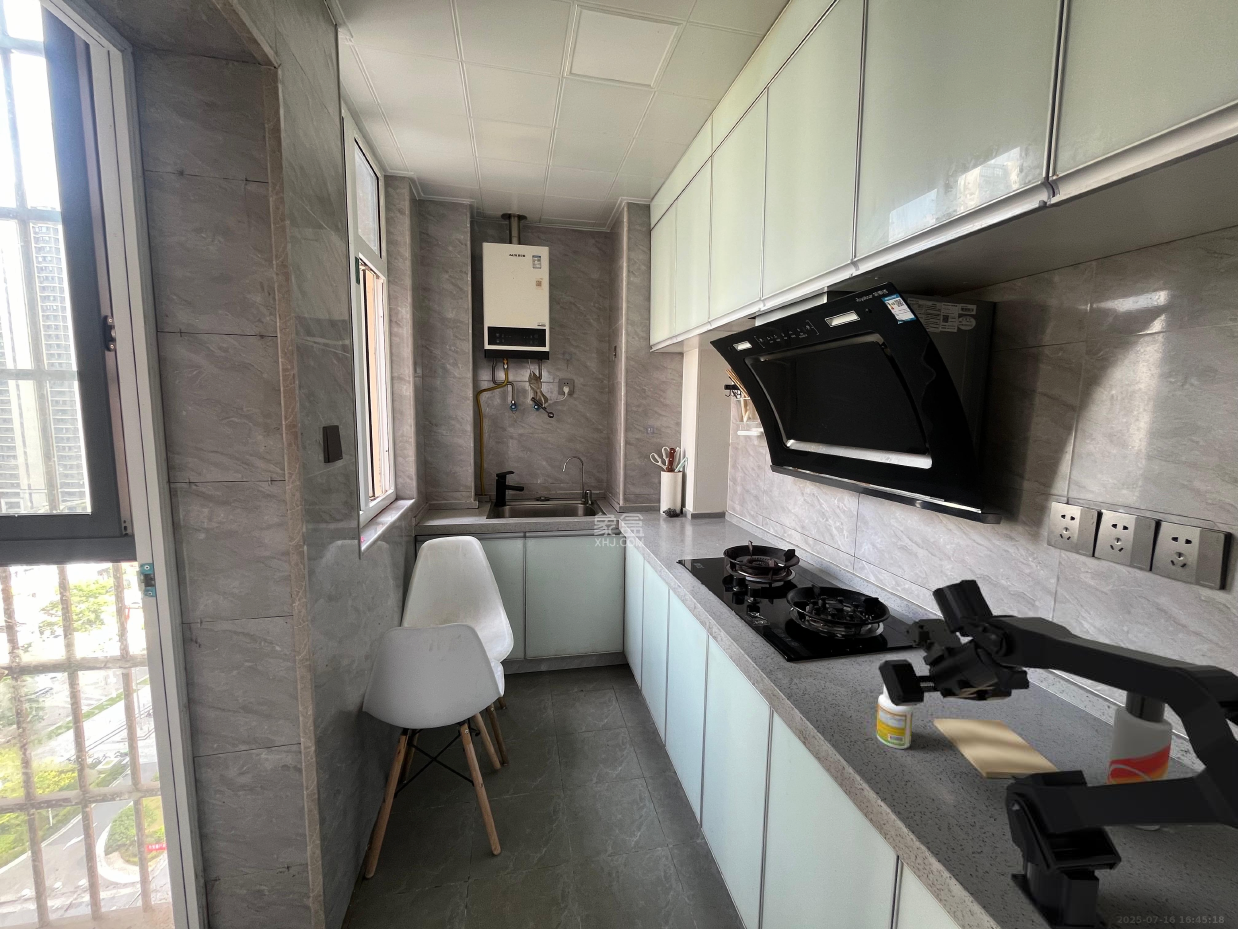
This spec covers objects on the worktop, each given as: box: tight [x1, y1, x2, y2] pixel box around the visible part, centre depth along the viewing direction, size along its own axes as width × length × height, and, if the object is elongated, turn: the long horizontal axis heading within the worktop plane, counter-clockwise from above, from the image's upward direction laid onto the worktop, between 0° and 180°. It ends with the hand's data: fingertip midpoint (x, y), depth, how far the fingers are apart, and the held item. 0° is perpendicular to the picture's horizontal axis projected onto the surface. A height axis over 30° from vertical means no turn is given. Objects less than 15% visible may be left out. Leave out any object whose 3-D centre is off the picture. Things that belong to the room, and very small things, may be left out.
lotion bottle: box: [1106, 692, 1173, 831], centre depth 72 cm, size 6×6×20 cm
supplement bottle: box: [875, 683, 914, 750], centre depth 89 cm, size 5×5×10 cm
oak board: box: [933, 718, 1060, 779], centre depth 87 cm, size 14×12×1 cm
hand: (915, 694), depth 84 cm, fingers open, 9 cm apart
